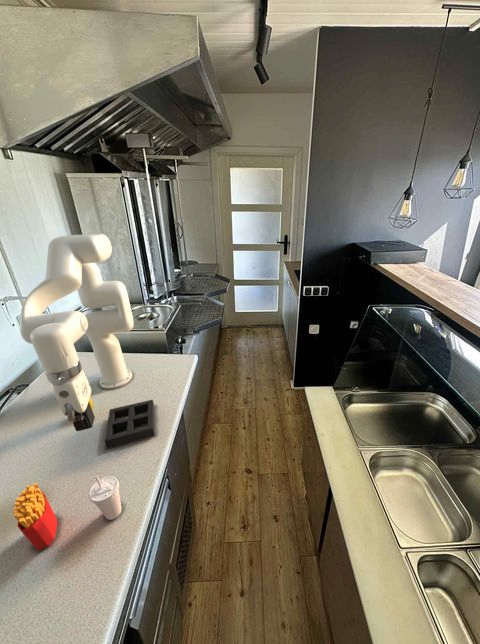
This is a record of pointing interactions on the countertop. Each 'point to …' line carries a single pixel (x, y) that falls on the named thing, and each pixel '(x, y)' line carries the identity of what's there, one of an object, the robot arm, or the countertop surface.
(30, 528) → the french fries
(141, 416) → the socket pad
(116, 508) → the smoothie
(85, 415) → the connector plug
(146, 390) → the countertop surface
